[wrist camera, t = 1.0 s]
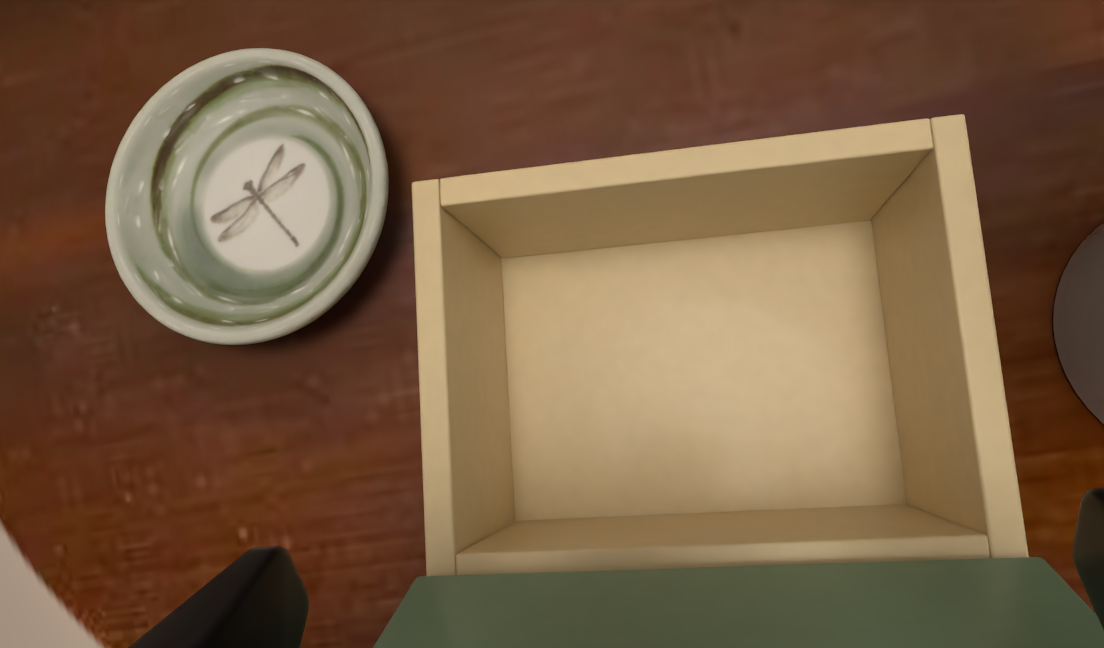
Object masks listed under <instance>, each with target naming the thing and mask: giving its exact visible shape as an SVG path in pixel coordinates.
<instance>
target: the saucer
mask: <svg viewBox="0 0 1104 648" xmlns="http://www.w3.org/2000/svg"><path fill="white" fill-rule="evenodd" d="M388 185H389V177H388V164H387V160H386V154H385V149H384V145H383V142H382V138H381V136H380V133H379V130H378V127H377V125H376V123H375V121H374V119H373V117H372V114H371V113H370V111H369V110H368V108H367V106H366V105H365V103H364V102H363V100H362V99H361V98H360V96H359V95H358V94H357V93H356V92H355V90H354V89H353V88H352V87H351V86H350V85H349V84H348V83H347V82H346V81H345V80H344V79H343V78H341V77H340V76H339V75H338V74H337V73H335V72H334V71H333V70H331V69H330V68H328V67H326V66H325V65H323V64H321V63H319V62H318V61H316V60H313V59H311V58H309V57H306V56H304V55H301V54H298V53H294V52H290V51H285V50H280V49H270V48H250V49H241V50H236V51H231V52H227V53H223V54H220V55H217V56H214V57H211V58H208V59H206V60H204V61H201V62H199V63H197V64H195V65H193V66H192V67H190V68H188V69H186V70H185V71H183V72H181V73H180V74H178V75H177V76H176V77H174V78H173V79H172V80H170V81H169V82H168V83H167V84H165V85H164V86H163V87H162V88H161V89H160V90H159V91H158V92H157V93H156V94H154V95H153V96H152V97H151V98H150V100H149V101H148V102H147V103H146V104H145V105H144V107H143V108H142V109H141V110H140V112H139V113H138V114H137V115H136V117H135V118H134V120H133V121H132V123H131V125H130V126H129V128H128V130H127V132H126V133H125V135H124V137H123V139H122V141H121V143H120V145H119V148H118V150H117V153H116V155H115V157H114V161H113V164H112V168H111V171H110V176H109V180H108V185H107V192H106V204H105V223H106V231H107V237H108V243H109V247H110V251H111V254H112V257H113V260H114V263H115V266H116V268H117V271H118V273H119V275H120V277H121V279H122V280H123V282H124V284H125V285H126V287H127V289H128V290H129V291H130V293H131V294H132V296H133V297H134V298H135V299H136V301H137V302H138V303H139V304H140V305H141V306H142V307H143V308H144V309H145V310H146V311H147V312H148V313H149V314H150V315H151V316H153V317H154V318H155V319H156V320H158V321H159V322H160V323H162V324H163V325H165V326H166V327H168V328H170V329H172V330H174V331H176V332H178V333H180V334H182V335H184V336H187V337H190V338H192V339H196V340H199V341H203V342H207V343H213V344H223V345H245V344H254V343H261V342H265V341H269V340H272V339H276V338H279V337H282V336H285V335H287V334H290V333H292V332H294V331H297V330H299V329H301V328H303V327H304V326H306V325H308V324H310V323H311V322H313V321H315V320H316V319H318V318H319V317H320V316H322V315H323V314H324V313H326V312H327V311H328V310H329V309H330V308H331V307H333V306H334V305H335V304H336V303H337V302H338V301H339V300H340V299H341V298H342V297H343V296H344V295H345V294H346V293H347V292H348V291H349V290H350V289H351V287H352V286H353V285H354V283H355V282H356V281H357V279H358V278H359V277H360V275H361V273H362V272H363V270H364V268H365V267H366V265H367V264H368V262H369V260H370V258H371V256H372V254H373V252H374V250H375V248H376V245H377V243H378V240H379V237H380V234H381V232H382V228H383V224H384V220H385V216H386V210H387V203H388Z"/></svg>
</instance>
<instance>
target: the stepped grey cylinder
mask: <svg viewBox="0 0 1104 648" xmlns="http://www.w3.org/2000/svg"><path fill="white" fill-rule="evenodd" d="M1053 327H1054V337H1055V344H1056V348H1057V351H1058V355H1059V359H1060V362H1061V364H1062V367H1063V369H1064V372H1065V374H1066V376H1067V378H1068V380H1069V382H1070V383H1071V385H1072V387H1073V389H1074V390H1075V392H1076V394H1077V395H1078V396H1079V397H1080V399H1081V400H1082V401H1083V403H1084V404H1085V405H1086V407H1087V408H1088V409H1089V410H1090V411H1091V412H1092V413H1093V414H1094V415H1095V416H1096V417H1097V418H1098V419H1099V420H1100V421H1101V422H1102V423H1103V424H1104V223H1102V224H1101V225H1100V226H1099V227H1097V228H1096V229H1095V230H1093V231H1092V233H1091V234H1090V235H1089V236H1088V237H1087V238H1086V239H1085V240H1084V241H1083V242H1082V243H1081V244H1080V246H1079V247H1078V248H1077V250H1076V251H1075V253H1074V254H1073V255H1072V257H1071V258H1070V260H1069V262H1068V264H1067V266H1066V268H1065V270H1064V272H1063V274H1062V277H1061V280H1060V283H1059V285H1058V288H1057V292H1056V298H1055V303H1054V315H1053Z"/></svg>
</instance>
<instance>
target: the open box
mask: <svg viewBox="0 0 1104 648" xmlns="http://www.w3.org/2000/svg"><path fill="white" fill-rule="evenodd" d="M412 205H413V231H414V257H415V283H416V310H417V336H418V362H419V388H420V415H421V441H422V467H423V493H424V520H425V546H426V572H427V576H446V575H478V574H509V573H541V572H573V571H605V570H637V569H669V568H701V567H732V566H764V565H796V564H828V563H860V562H892V561H923V560H955V559H987V558H1019V557H1029V556H1028V549H1027V542H1026V535H1025V528H1024V521H1023V514H1022V508H1021V501H1020V494H1019V487H1018V480H1017V473H1016V466H1015V459H1014V452H1013V445H1012V438H1011V432H1010V425H1009V418H1008V411H1007V404H1006V397H1005V390H1004V383H1003V376H1002V369H1001V362H1000V356H999V349H998V342H997V335H996V328H995V321H994V314H993V307H992V300H991V293H990V286H989V280H988V273H987V266H986V259H985V252H984V245H983V238H982V231H981V224H980V217H979V210H978V204H977V197H976V190H975V183H974V176H973V169H972V162H971V155H970V148H969V141H968V134H967V128H966V121H965V116H964V115H963V114H959V115H951V116H943V117H935V118H932V119H930V120H929V119H927V118H926V119H918V120H910V121H902V122H894V123H886V124H878V125H869V126H861V127H853V128H845V129H837V130H829V131H821V132H813V133H805V134H797V135H788V136H780V137H772V138H764V139H756V140H748V141H740V142H732V143H724V144H716V145H708V146H699V147H691V148H683V149H675V150H667V151H659V152H651V153H643V154H635V155H627V156H618V157H610V158H602V159H594V160H586V161H578V162H570V163H562V164H554V165H546V166H538V167H529V168H521V169H513V170H505V171H497V172H489V173H481V174H473V175H465V176H457V177H449V178H441V179H440V181H439V180H438V179H433V180H425V181H417V182H413V183H412Z"/></svg>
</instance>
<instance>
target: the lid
mask: <svg viewBox="0 0 1104 648" xmlns="http://www.w3.org/2000/svg"><path fill="white" fill-rule="evenodd" d="M373 648H1104V630H1103V628H1102V626H1101V623H1100V621H1099V619H1098V617H1097V615H1096V614H1095V613H1094V612H1093V611H1092V610H1091V608H1090V607H1089V606H1088V605H1087V604H1086V603H1085V602H1084V601H1083V600H1082V599H1081V598H1080V597H1079V596H1078V595H1077V594H1076V593H1075V592H1074V591H1073V589H1072V588H1071V587H1070V586H1069V585H1068V584H1067V583H1066V582H1065V581H1064V580H1063V579H1062V578H1061V577H1060V576H1059V575H1058V574H1057V573H1056V572H1055V570H1054V569H1053V568H1052V567H1051V566H1050V565H1049V564H1048V563H1047V562H1046V561H1045V560H1044V559H1043V558H1041V557H1019V558H987V559H955V560H923V561H892V562H860V563H828V564H796V565H764V566H732V567H701V568H669V569H637V570H605V571H573V572H541V573H509V574H478V575H446V576H419V577H417V578H416V579H415V580H414V582H413V584H412V585H411V587H410V588H409V590H408V592H407V593H406V595H405V596H404V598H403V600H402V601H401V603H400V605H399V606H398V608H397V609H396V611H395V613H394V614H393V616H392V617H391V619H390V621H389V622H388V624H387V626H386V627H385V629H384V630H383V632H382V634H381V635H380V637H379V638H378V640H377V642H376V643H375V645H374V647H373Z"/></svg>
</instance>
